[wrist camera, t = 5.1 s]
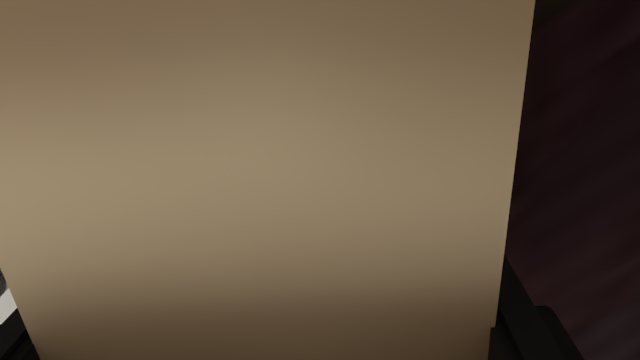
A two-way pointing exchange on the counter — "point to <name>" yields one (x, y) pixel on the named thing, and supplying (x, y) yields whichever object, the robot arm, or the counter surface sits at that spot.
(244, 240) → the oak shelf board
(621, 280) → the counter surface
